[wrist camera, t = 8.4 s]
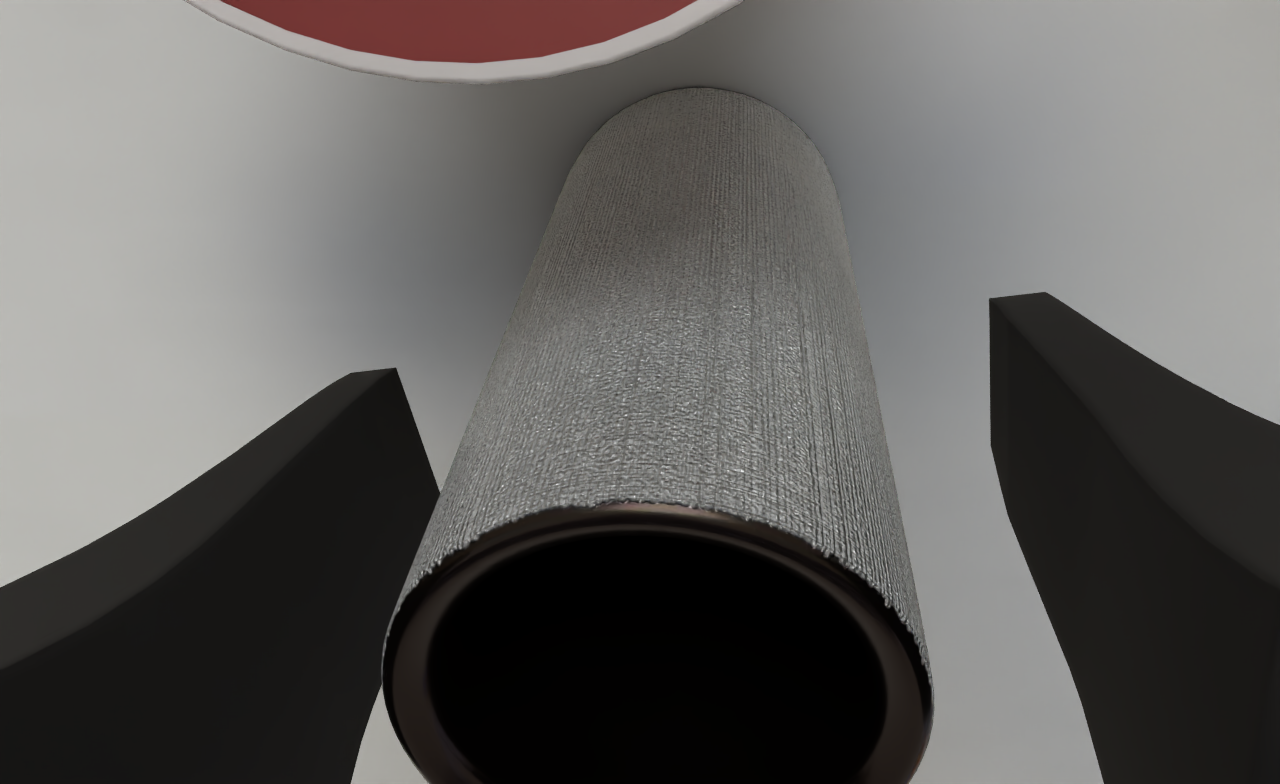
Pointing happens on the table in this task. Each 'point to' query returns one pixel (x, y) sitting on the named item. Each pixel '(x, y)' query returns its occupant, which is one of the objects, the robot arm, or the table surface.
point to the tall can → (465, 33)
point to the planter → (672, 492)
